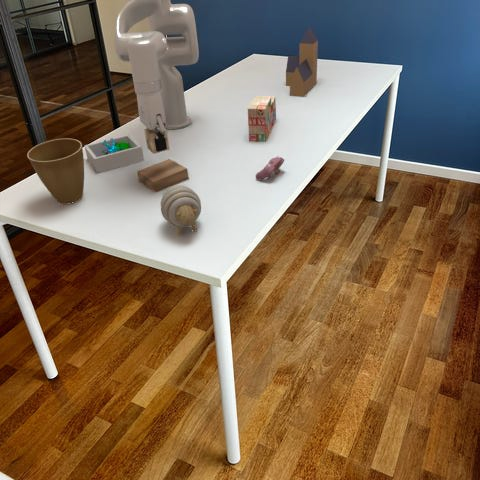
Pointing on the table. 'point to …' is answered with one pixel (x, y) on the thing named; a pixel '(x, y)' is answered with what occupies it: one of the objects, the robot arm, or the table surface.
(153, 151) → the oak block
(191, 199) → the toy sheep
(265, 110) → the stack of blocks
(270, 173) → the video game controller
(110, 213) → the table surface
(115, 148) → the green blue spiky piece
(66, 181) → the plant pot
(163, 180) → the base block
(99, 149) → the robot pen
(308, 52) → the toy building blocks
